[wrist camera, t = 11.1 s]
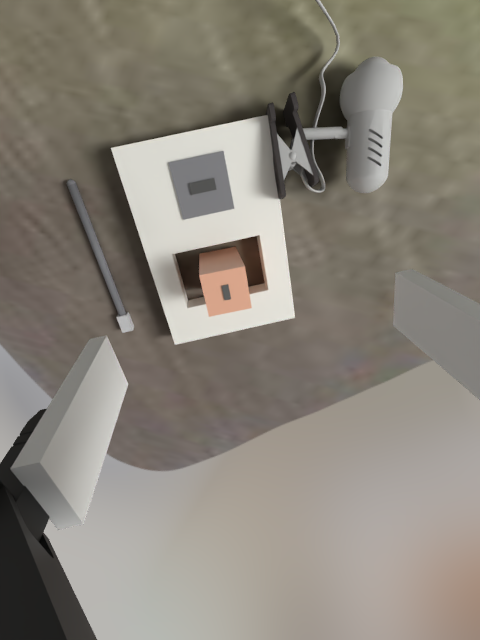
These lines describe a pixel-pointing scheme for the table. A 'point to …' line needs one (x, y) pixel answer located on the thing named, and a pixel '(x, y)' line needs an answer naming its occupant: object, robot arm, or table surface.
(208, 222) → the outlet plate
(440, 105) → the table surface
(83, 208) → the cable
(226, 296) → the block
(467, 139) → the table surface
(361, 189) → the clip-on lamp
